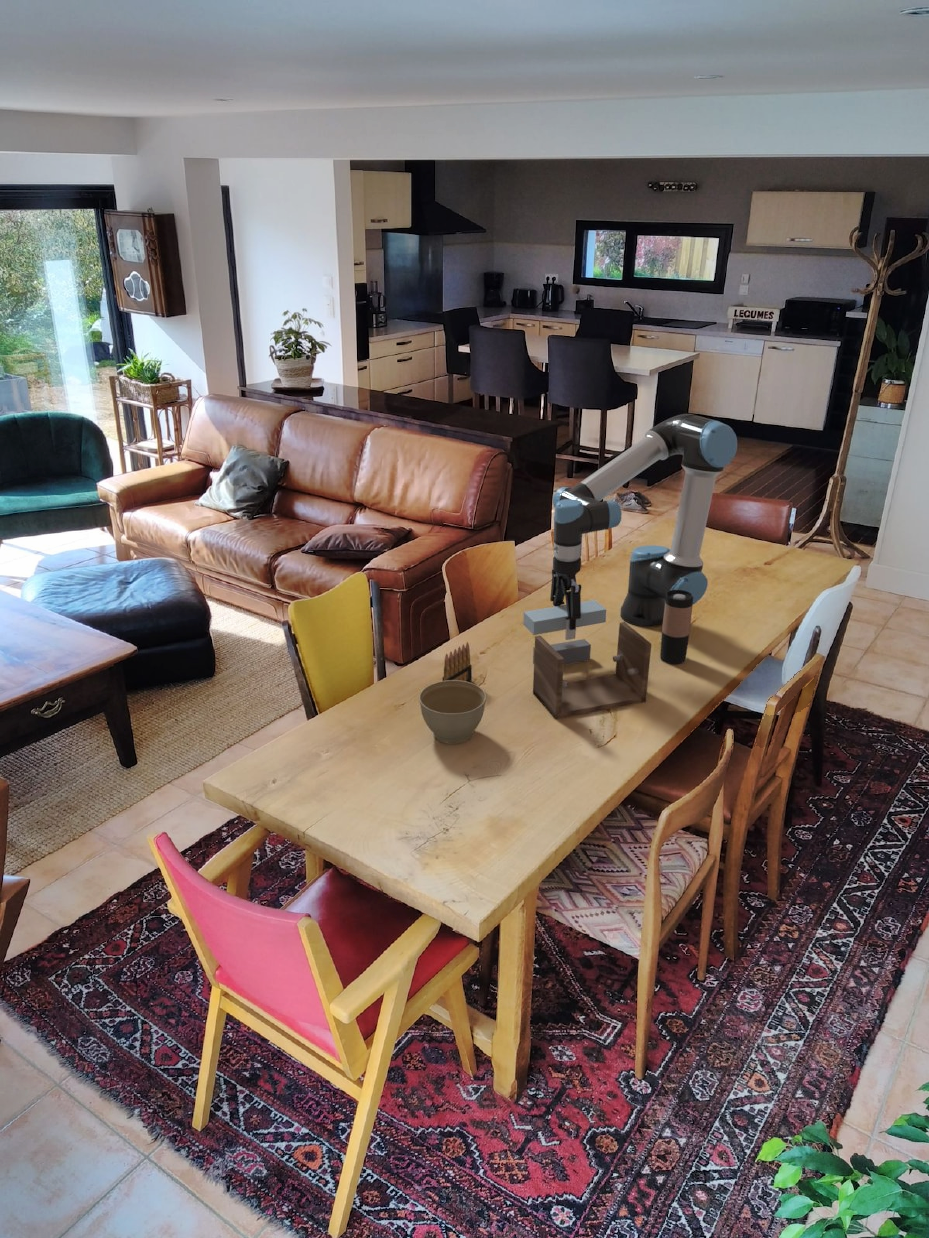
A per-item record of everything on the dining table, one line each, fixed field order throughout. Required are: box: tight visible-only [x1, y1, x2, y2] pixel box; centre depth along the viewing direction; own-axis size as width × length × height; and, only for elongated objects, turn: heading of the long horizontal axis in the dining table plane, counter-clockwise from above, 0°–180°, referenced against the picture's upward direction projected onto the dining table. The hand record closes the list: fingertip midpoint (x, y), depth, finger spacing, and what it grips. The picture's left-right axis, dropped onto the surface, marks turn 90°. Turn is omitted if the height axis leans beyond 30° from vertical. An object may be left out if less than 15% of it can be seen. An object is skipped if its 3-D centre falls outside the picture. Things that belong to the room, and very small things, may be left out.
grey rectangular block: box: [532, 638, 592, 666], centre depth 259 cm, size 16×4×5 cm, turn 110°
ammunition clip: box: [442, 641, 473, 683], centre depth 244 cm, size 11×2×12 cm, turn 142°
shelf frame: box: [532, 621, 652, 720], centre depth 238 cm, size 26×14×17 cm, turn 110°
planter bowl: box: [418, 680, 487, 745], centre depth 223 cm, size 16×16×11 cm
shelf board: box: [523, 599, 607, 636], centre depth 254 cm, size 22×7×4 cm, turn 110°
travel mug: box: [659, 590, 694, 665], centre depth 258 cm, size 8×8×20 cm
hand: (564, 632), depth 257 cm, fingers closed on shelf board, 7 cm apart
